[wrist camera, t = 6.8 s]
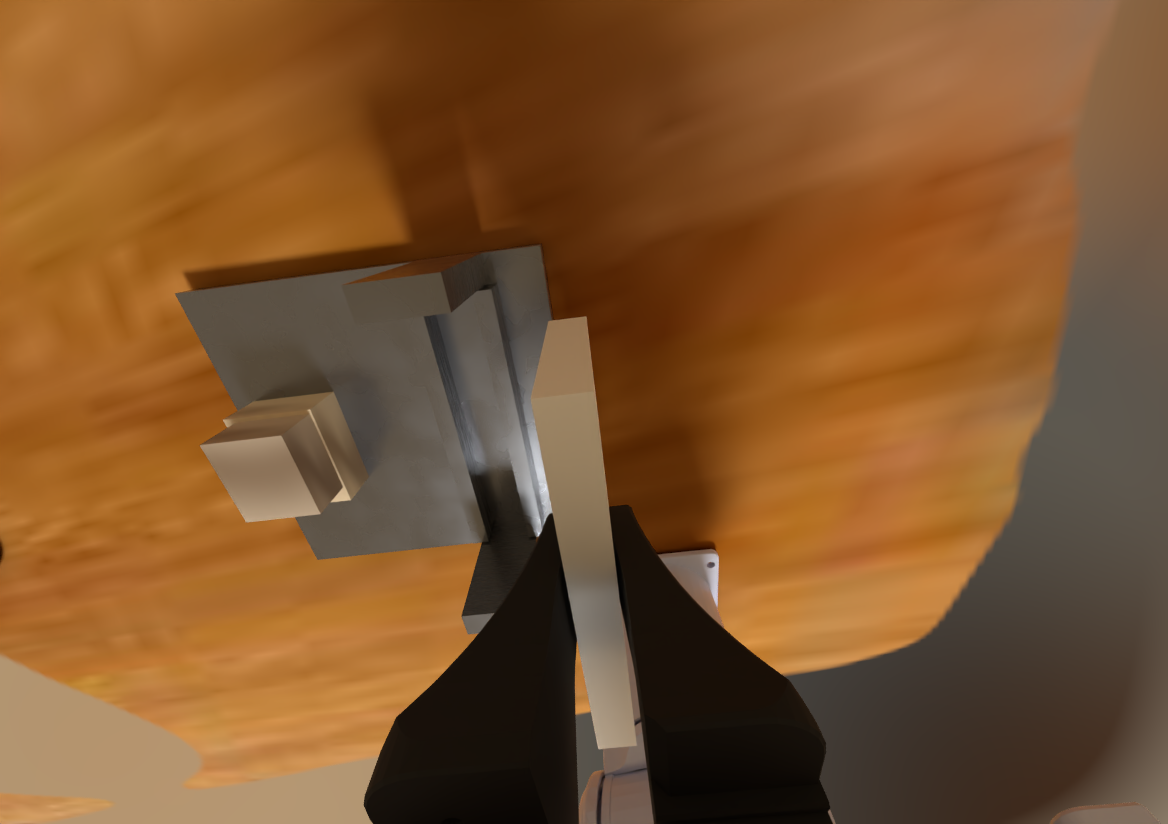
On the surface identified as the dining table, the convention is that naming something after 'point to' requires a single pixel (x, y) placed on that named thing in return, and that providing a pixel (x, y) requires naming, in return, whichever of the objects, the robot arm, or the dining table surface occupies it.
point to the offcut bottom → (328, 427)
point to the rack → (408, 397)
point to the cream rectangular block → (583, 522)
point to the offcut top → (274, 467)
